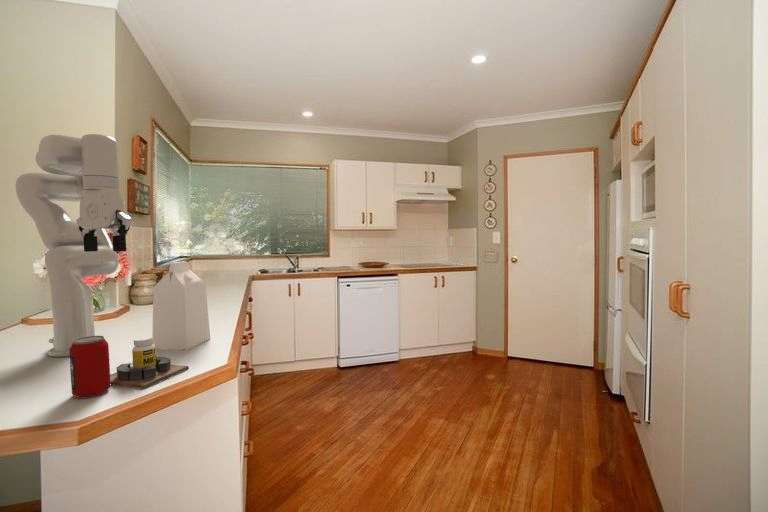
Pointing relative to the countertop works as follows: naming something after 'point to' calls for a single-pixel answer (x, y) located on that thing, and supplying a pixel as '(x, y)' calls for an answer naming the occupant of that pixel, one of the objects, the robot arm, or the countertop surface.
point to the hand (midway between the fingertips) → (105, 251)
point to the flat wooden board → (145, 374)
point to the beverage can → (89, 366)
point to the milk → (180, 309)
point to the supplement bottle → (143, 352)
